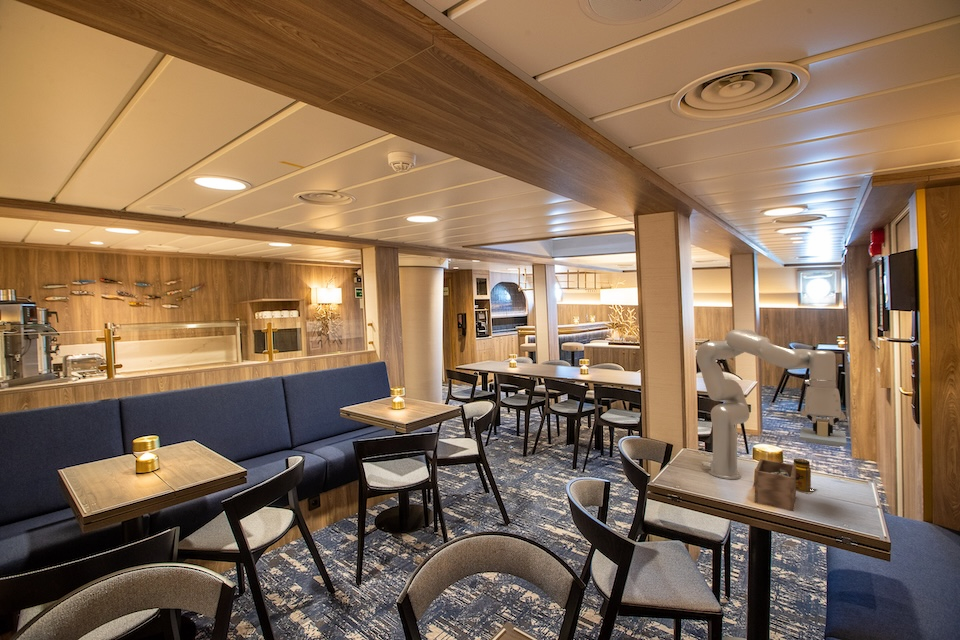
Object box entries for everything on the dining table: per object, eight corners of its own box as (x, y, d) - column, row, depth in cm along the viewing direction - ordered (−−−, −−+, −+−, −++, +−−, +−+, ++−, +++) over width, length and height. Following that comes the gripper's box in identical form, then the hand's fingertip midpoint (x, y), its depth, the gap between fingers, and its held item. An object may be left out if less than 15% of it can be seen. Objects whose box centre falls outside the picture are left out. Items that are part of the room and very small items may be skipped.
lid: (799, 442, 155) (799, 422, 155) (801, 432, 169) (801, 414, 169) (846, 449, 146) (846, 428, 147) (845, 438, 161) (845, 418, 161)
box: (754, 502, 164) (754, 470, 164) (759, 487, 178) (760, 458, 178) (793, 511, 156) (793, 478, 156) (795, 495, 170) (796, 465, 170)
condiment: (788, 488, 178) (788, 459, 178) (796, 484, 182) (797, 455, 182) (809, 494, 172) (809, 464, 171) (817, 490, 176) (817, 460, 176)
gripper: (794, 383, 160) (794, 432, 160) (852, 387, 150) (852, 440, 150) (795, 381, 166) (795, 429, 166) (851, 385, 156) (851, 435, 156)
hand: (822, 433), depth 158 cm, fingers closed on lid, 3 cm apart
